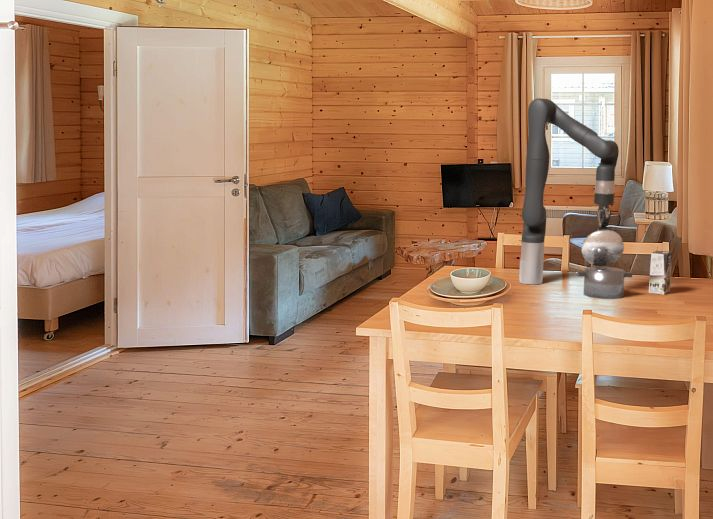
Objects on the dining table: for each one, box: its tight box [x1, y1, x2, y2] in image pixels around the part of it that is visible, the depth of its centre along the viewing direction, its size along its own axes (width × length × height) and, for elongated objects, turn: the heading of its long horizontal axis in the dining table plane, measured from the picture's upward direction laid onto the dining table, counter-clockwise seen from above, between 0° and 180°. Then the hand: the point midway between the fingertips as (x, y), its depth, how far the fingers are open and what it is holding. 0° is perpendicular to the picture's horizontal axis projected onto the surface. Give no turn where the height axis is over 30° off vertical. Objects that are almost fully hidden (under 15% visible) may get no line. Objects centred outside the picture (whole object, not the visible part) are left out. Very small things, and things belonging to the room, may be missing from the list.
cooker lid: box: [581, 226, 625, 266], centre depth 358 cm, size 16×16×4 cm
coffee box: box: [648, 250, 673, 295], centre depth 361 cm, size 9×6×16 cm
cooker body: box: [576, 265, 633, 300], centre depth 355 cm, size 21×17×10 cm
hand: (602, 236), depth 358 cm, fingers closed
